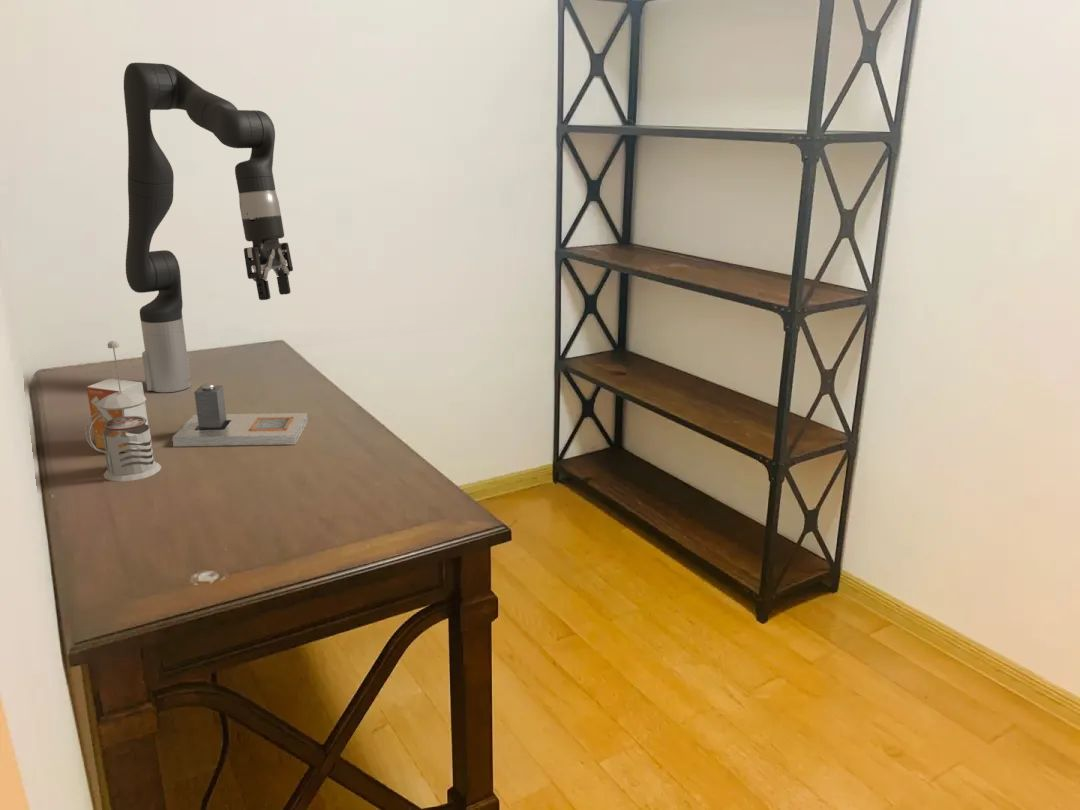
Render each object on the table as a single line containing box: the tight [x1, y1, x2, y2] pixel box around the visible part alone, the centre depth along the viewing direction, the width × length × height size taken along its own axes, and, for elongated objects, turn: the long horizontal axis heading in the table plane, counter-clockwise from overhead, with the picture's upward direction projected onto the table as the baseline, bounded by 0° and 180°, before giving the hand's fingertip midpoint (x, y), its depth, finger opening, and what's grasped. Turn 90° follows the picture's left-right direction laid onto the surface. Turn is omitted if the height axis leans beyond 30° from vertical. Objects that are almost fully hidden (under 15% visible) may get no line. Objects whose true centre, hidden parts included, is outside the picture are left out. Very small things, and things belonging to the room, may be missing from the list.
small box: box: [86, 378, 149, 453], centre depth 166 cm, size 8×6×13 cm
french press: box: [84, 340, 162, 482], centre depth 151 cm, size 10×12×25 cm
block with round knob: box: [194, 382, 227, 430], centre depth 173 cm, size 4×4×11 cm
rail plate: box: [172, 412, 309, 448], centre depth 175 cm, size 24×14×2 cm, turn 95°
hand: (275, 296), depth 170 cm, fingers open, 8 cm apart
